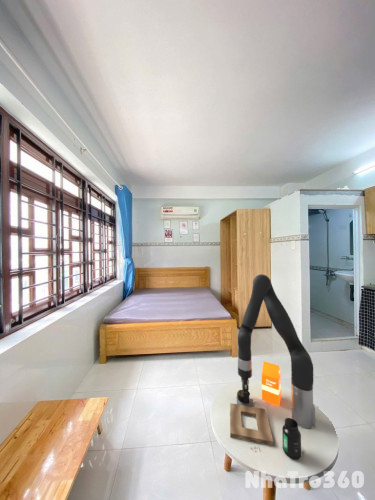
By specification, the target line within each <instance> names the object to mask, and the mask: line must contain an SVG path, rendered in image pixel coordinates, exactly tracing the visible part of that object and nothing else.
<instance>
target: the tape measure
mask: <svg viewBox="0 0 375 500" xmlns="http://www.w3.org/2000/svg"><path fill="white" fill-rule="evenodd" d="M246 393H247V392H246ZM248 395H249V396H248V402H244V401H243V390H242V389H238V391H237V392H236V396H237V397H236V399H237V398H238V400H239V401H240V402H242V403H249V398H250V395H251V393H250V391H249V390H248Z"/></svg>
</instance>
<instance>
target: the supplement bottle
mask: <svg viewBox="0 0 375 500" xmlns="http://www.w3.org/2000/svg"><path fill="white" fill-rule="evenodd" d="M281 431H282V450H283V452H284V454H285V455H286V457H288V458H289V459H291V460H293V461H299V460H301V458H302V434H301V432H300V429H299V425H298V424H297V422H296V421H295V420H294V419H292V417H286V418H285V419H284V424H283V426H282V428H281Z"/></svg>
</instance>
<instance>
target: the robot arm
mask: <svg viewBox="0 0 375 500" xmlns="http://www.w3.org/2000/svg"><path fill="white" fill-rule="evenodd" d="M272 284H273V283H272V281H271V279H270V277H269V276H267V275H265V274H262V273H261V274H258V275H256V276H255V277H254V278H253V281H252V289H251V295H250V299H249V302H248V304H247V306H246V310H245V312H244V316H243V318H242V322H241V325H240V327H239V330H238V333H237V346H238V347H237V348H238V349H237V353H238V354H237V375H238V376H239V377H240V379H241V381H240V382H241V390H243V401H244V402H248V396H249V397H250V395H248V391H249V389H250V388H249V387H250V385H249V384H250V380H249V379H251V378H252V376H253V362H252V334H253V331H254V328H255V327H256V325H257V322H258V319H259V316H260V313H261V308H262V305H263V302H264V306H265V308H266V311H267V314H268V316H269V319H270V322H271V323H272V325H273V327H274V329H275V331H276V332H277V333H278V335H279V336H280V337H281V339H282V340H283V341H284V343H285V345H286V347H287V350H288V353H289V355H290V363H291V364H290V366H291V368H290V369H291V370H290V371H291V374H290V375H291V379H290V381H291V387H290V388H291V389H290V391H291V418H292V419H294V420H295V421H296V422H297V424H298V427H301V428H304V429H312V428H316V406H315V404H314V364H313V361H312V358H311V356H310V353H308V351H307V349H306V348H305V346H304V345H303V343H302V341H301V340H300V337H299V336H298V332H297V331H296V328H295V326H294V323H293V322H292V320H291V319H292V318H291V317H290V315H289V313H288V312H287V310H286V309H285V307H284V305H283V303H282V302H281V300H280V299H279V298H278V296H277V294H276V292H275V289H274V287H273V285H272ZM246 392H247V393H246Z"/></svg>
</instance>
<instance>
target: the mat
mask: <svg viewBox="0 0 375 500" xmlns="http://www.w3.org/2000/svg"><path fill="white" fill-rule="evenodd" d="M235 398H236V404H239V405H245V406H251V407H255V404H254V399H253V398H250V397H249V403H242V402H240V401H239V400H238V398H237V395H236V397H235Z"/></svg>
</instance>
